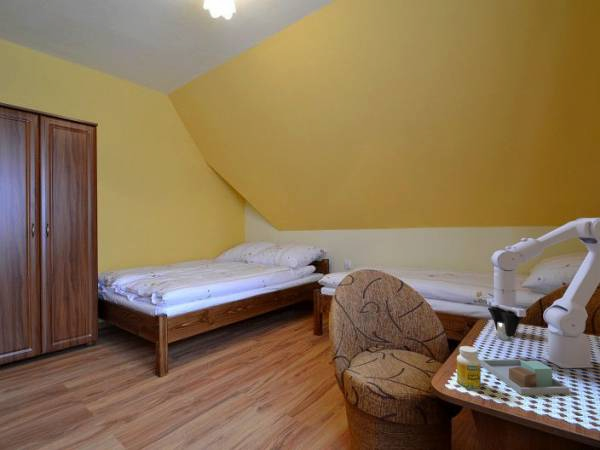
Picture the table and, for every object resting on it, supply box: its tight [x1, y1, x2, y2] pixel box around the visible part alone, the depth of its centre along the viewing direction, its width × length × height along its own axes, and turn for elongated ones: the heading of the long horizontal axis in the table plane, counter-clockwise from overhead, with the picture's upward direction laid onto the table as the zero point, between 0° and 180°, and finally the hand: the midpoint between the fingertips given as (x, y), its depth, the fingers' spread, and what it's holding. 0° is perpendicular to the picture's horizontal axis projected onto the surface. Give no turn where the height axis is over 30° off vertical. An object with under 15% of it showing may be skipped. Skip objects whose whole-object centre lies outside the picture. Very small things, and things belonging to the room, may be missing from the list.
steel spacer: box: [496, 321, 514, 342], centre depth 96 cm, size 4×4×5 cm
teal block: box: [521, 360, 553, 387], centre depth 80 cm, size 4×4×4 cm
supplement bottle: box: [456, 345, 482, 391], centre depth 79 cm, size 5×5×10 cm
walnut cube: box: [509, 366, 536, 388], centre depth 78 cm, size 4×4×4 cm
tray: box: [479, 358, 570, 396], centre depth 83 cm, size 12×16×2 cm
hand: (505, 333), depth 96 cm, fingers closed on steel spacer, 4 cm apart
